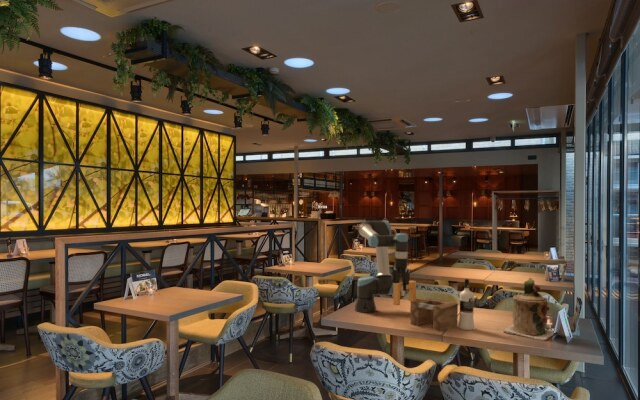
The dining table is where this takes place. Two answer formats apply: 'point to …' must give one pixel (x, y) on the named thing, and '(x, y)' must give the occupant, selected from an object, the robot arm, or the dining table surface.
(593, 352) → the dining table surface
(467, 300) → the vodka
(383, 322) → the dining table surface
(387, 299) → the dining table surface
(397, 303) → the wooden u-shaped block
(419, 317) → the dark wooden box
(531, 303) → the cookie jar
